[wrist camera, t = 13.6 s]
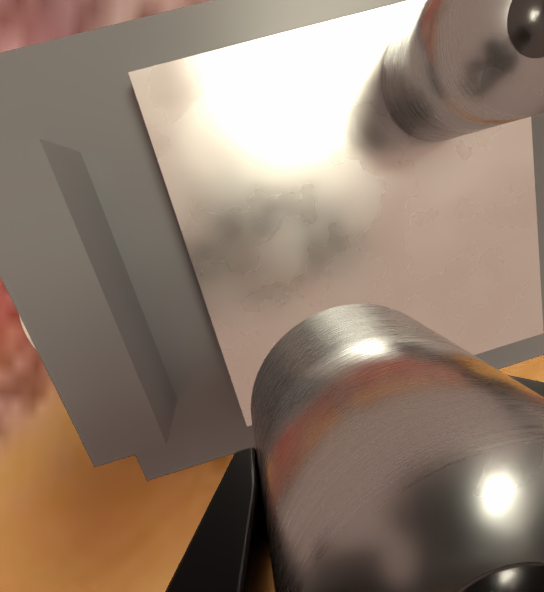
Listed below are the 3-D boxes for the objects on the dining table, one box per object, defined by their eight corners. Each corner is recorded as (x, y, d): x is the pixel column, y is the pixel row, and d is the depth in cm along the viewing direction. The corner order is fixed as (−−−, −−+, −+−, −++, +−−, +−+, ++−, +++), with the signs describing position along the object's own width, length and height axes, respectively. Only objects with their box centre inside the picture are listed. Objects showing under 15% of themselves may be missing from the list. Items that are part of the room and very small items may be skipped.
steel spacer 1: (489, -8, 14) (623, -115, 10) (500, 124, 16) (622, 90, 11) (370, 23, 14) (446, -70, 9) (392, 155, 16) (468, 134, 11)
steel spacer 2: (433, 277, 8) (721, 379, 4) (457, 452, 10) (689, 698, 5) (224, 339, 8) (228, 542, 3) (279, 511, 9) (341, 836, 5)
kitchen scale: (508, -50, 17) (638, -165, 12) (534, 335, 22) (629, 377, 17) (-17, 82, 16) (-141, 21, 10) (148, 457, 21) (122, 543, 16)
